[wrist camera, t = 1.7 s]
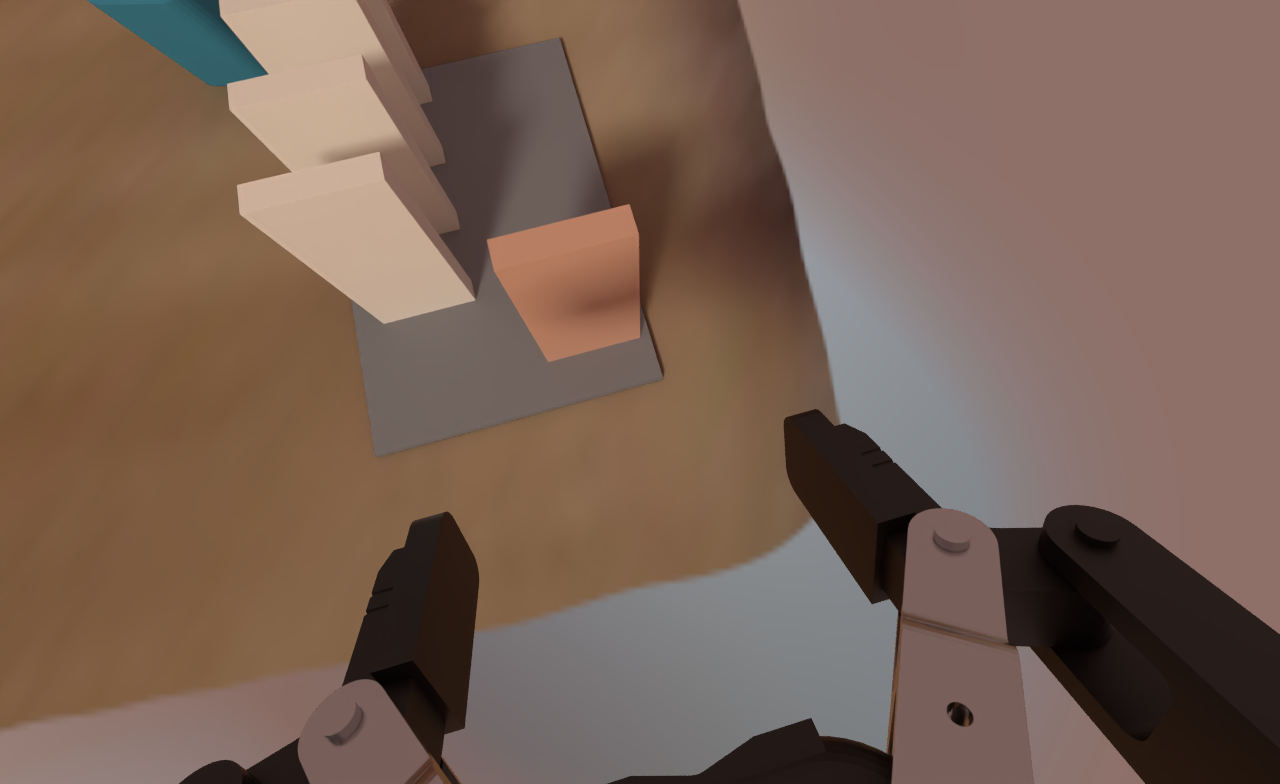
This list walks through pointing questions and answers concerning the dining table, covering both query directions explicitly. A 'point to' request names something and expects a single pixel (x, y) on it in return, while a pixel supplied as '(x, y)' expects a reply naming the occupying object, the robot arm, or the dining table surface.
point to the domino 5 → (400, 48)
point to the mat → (488, 208)
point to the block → (188, 36)
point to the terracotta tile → (574, 281)
